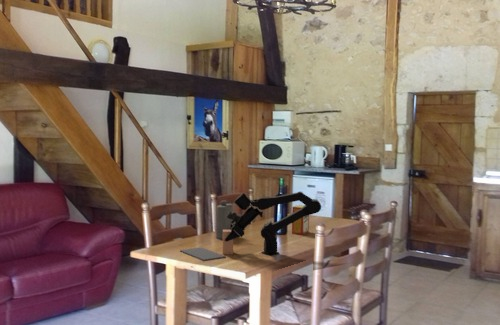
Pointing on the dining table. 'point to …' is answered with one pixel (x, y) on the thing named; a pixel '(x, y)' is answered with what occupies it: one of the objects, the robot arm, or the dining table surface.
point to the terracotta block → (227, 243)
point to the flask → (222, 218)
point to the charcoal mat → (202, 253)
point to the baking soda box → (300, 222)
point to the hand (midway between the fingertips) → (225, 239)
